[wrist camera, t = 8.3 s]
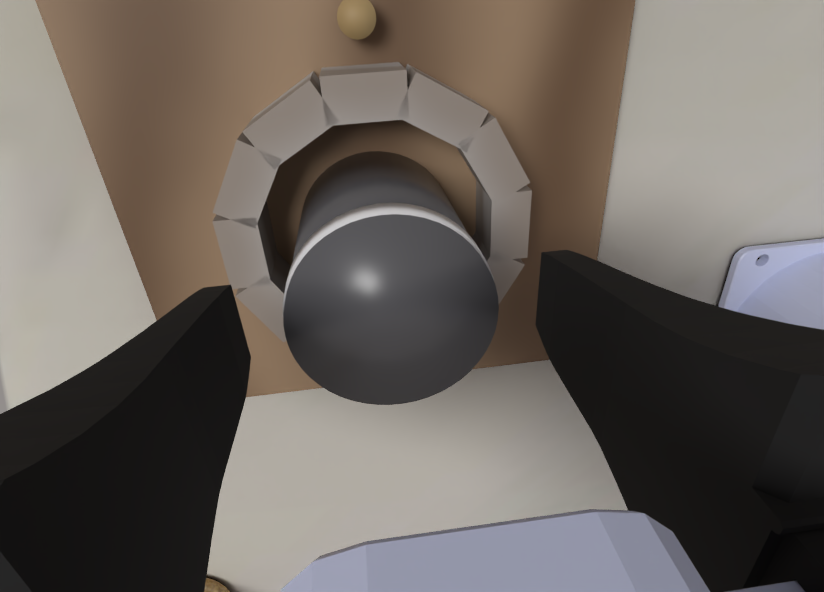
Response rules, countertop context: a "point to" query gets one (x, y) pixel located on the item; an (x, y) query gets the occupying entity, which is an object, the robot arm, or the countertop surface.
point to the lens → (386, 284)
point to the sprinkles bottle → (214, 586)
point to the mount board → (343, 134)
